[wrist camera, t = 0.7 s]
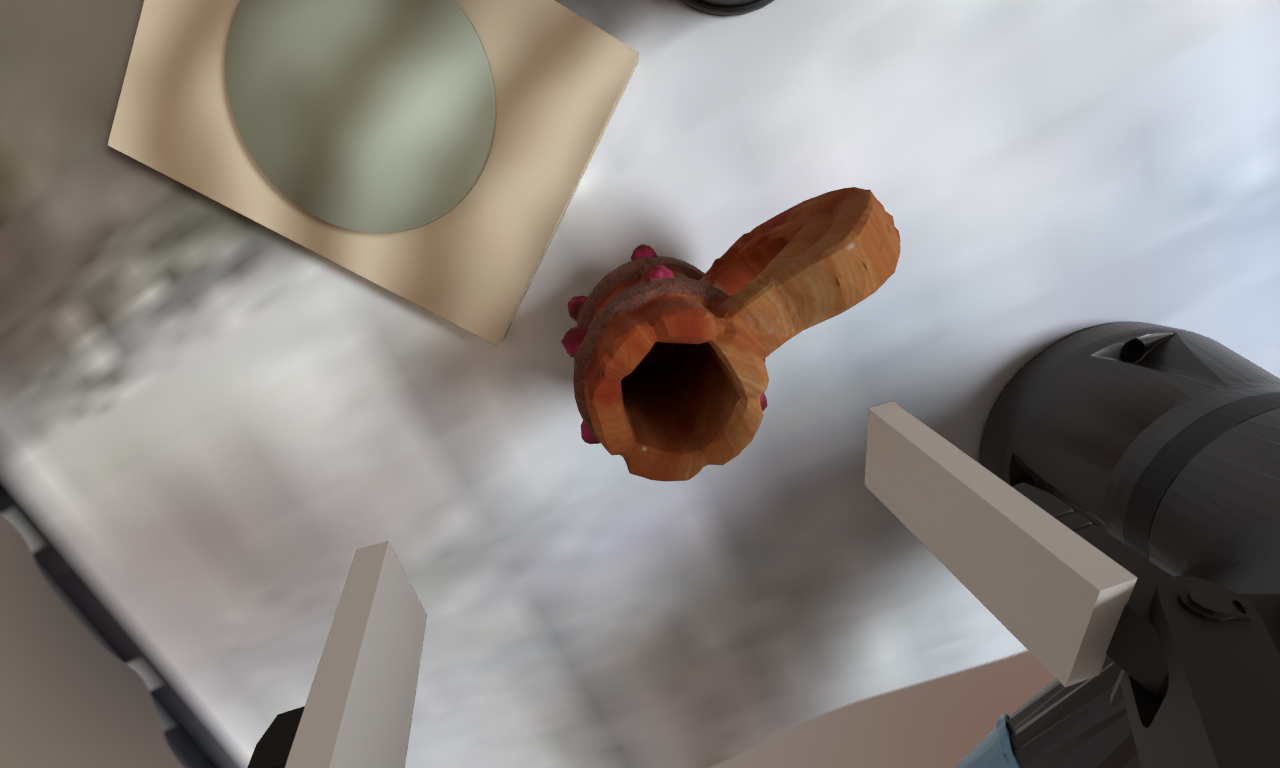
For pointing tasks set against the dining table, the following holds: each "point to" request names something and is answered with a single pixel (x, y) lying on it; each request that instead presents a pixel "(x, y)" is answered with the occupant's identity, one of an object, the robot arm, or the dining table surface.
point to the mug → (716, 331)
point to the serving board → (382, 131)
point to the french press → (726, 6)
